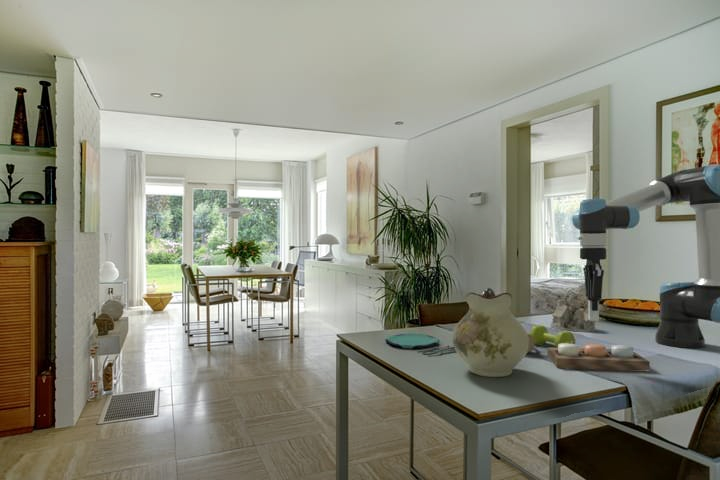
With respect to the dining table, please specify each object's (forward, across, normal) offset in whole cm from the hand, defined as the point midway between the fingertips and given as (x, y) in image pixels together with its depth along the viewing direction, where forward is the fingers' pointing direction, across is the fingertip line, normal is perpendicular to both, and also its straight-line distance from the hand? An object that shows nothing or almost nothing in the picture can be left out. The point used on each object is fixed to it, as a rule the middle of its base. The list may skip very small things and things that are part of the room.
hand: (593, 320), depth 142 cm
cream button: (+12, 0, -8) cm, 15 cm away
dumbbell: (+14, -20, -9) cm, 26 cm away
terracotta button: (+12, 0, 0) cm, 12 cm away
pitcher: (+14, +13, -34) cm, 39 cm away
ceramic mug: (+14, -13, -20) cm, 28 cm away
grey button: (+12, 0, +8) cm, 15 cm away
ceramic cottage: (+14, -58, +8) cm, 60 cm away
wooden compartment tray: (+14, 0, 0) cm, 14 cm away
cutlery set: (+15, -16, -57) cm, 61 cm away
